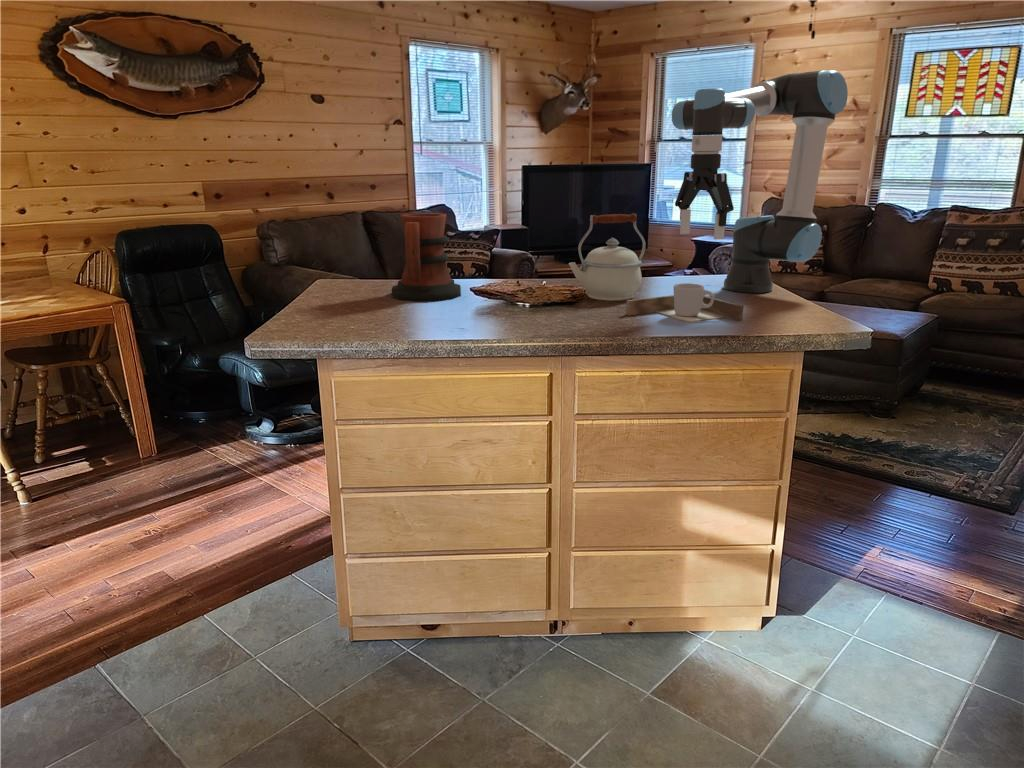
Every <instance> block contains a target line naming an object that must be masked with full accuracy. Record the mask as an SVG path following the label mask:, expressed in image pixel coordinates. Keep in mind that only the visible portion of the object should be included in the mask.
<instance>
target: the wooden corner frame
mask: <svg viewBox="0 0 1024 768" xmlns="http://www.w3.org/2000/svg"><path fill="white" fill-rule="evenodd" d="M710 301H711V296H708V295H705V296H704V298H703V303H704V304H706V305H707V304H709V303H710ZM744 307H745V306H744V305H742V304H739V303H735V302H730V301H727V300H723V299H719V298H715V297H714V302H713V304H712V306H711V307H709V308H701V309H700V312H699V314H698V315H696V316H692V317H685V316H679V315H677V314H676V313H675V310H674V294H672V295H663V296H654V297H645V298H644V297H643V298H638V299H637V298H635V299H628V300H626V306H625V309H626V310H625V315H626V316H635V315H636V316H637V315H644V314H652V313H656V314H660V315H663V316H666V317H668V318H669V317H670V318H673V319H675V320H678V321H682V322H685V323H693V322H700V321H701V322H702V321H708V320H710V321H711V320H716V319H725V318H727V319H731V320H734V321H738V322H740V321H742V322H743V315H744Z"/></svg>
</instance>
